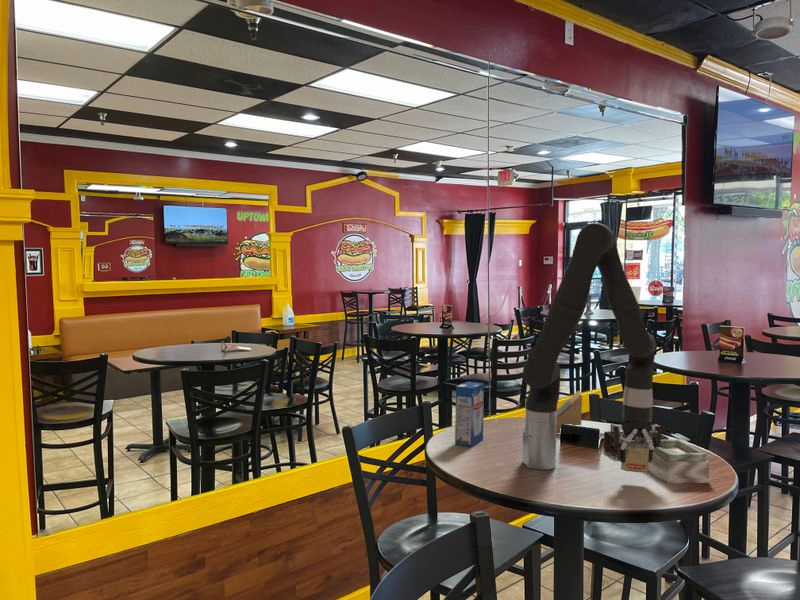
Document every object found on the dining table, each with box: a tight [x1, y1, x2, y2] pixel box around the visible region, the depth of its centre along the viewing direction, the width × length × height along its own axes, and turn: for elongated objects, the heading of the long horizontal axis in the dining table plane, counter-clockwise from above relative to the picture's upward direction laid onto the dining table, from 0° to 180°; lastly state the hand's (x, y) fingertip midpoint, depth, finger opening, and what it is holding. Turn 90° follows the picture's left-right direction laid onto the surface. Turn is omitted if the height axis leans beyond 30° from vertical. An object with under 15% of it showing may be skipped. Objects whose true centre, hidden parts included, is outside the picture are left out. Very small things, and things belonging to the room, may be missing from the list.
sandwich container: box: [556, 390, 583, 433], centre depth 208 cm, size 9×15×15 cm, turn 80°
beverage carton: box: [603, 430, 670, 457], centre depth 184 cm, size 8×19×7 cm, turn 96°
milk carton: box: [454, 381, 485, 448], centre depth 193 cm, size 10×6×20 cm, turn 150°
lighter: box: [620, 436, 649, 474], centre depth 156 cm, size 7×4×10 cm, turn 79°
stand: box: [648, 438, 710, 484], centre depth 164 cm, size 12×15×8 cm
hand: (634, 461), depth 156 cm, fingers closed on lighter, 7 cm apart
